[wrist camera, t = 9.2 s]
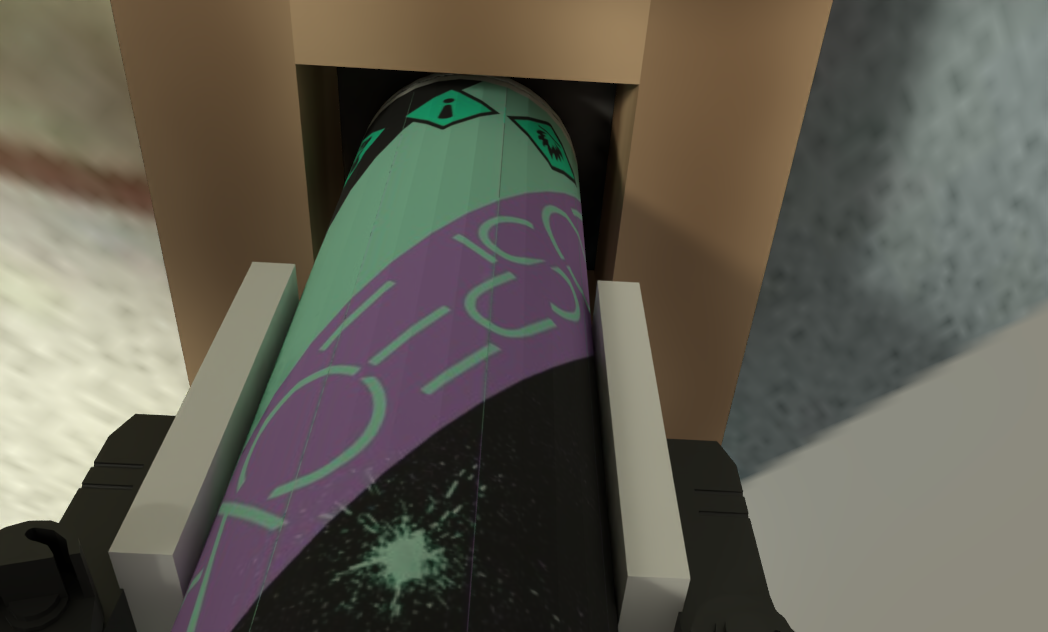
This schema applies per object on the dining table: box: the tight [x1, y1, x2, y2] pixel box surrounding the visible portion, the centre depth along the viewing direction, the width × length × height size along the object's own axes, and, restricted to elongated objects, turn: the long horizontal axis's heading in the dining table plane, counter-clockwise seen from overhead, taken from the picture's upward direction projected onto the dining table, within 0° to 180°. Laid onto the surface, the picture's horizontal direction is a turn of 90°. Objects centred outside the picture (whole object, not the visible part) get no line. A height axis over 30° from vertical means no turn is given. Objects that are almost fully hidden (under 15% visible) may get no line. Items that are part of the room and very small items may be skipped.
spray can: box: [171, 72, 618, 632], centre depth 14 cm, size 6×6×20 cm
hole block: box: [110, 0, 833, 445], centre depth 22 cm, size 14×14×4 cm
